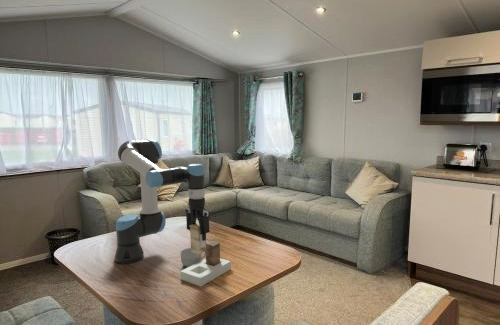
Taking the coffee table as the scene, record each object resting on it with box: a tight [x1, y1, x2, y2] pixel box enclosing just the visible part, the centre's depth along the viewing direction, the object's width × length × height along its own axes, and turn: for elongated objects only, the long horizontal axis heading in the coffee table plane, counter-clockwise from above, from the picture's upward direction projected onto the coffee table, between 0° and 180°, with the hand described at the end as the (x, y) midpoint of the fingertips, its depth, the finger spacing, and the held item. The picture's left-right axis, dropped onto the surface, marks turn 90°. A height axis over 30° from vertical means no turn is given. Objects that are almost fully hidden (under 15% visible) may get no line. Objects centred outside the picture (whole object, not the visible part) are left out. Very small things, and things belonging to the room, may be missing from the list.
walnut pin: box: [205, 240, 221, 266], centre depth 168 cm, size 5×5×13 cm
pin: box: [189, 221, 207, 254], centre depth 158 cm, size 5×5×13 cm
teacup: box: [179, 247, 206, 268], centre depth 175 cm, size 14×11×8 cm
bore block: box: [179, 257, 232, 287], centre depth 164 cm, size 13×22×4 cm, turn 145°
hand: (198, 245), depth 159 cm, fingers closed on pin, 5 cm apart
